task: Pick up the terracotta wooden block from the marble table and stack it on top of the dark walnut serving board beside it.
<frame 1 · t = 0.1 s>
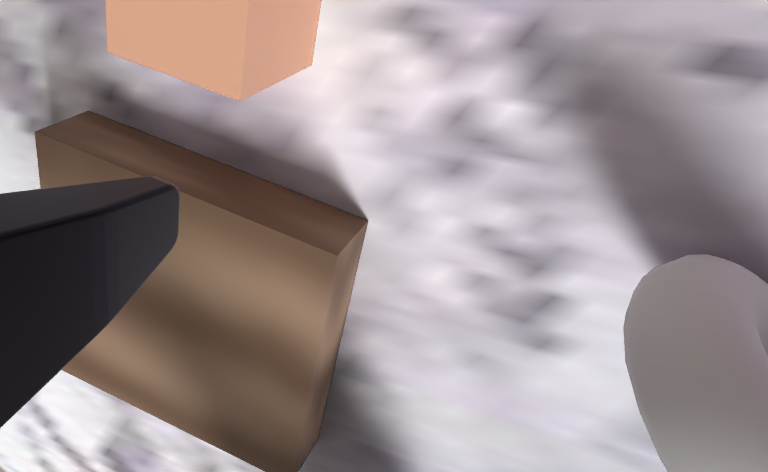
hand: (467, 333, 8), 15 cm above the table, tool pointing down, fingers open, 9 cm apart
donut: (743, 313, 22), on the table
walnut base: (211, 288, 31), on the table
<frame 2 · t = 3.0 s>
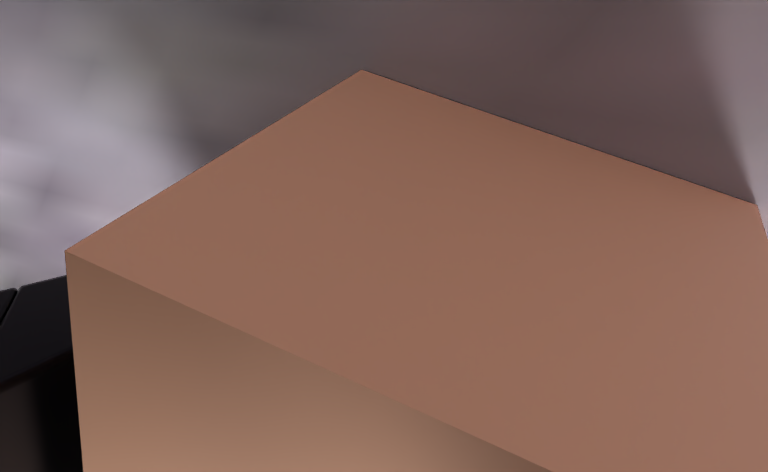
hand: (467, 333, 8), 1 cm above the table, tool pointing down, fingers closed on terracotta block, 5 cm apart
terracotta block: (486, 290, 9), on the table, touching gripper
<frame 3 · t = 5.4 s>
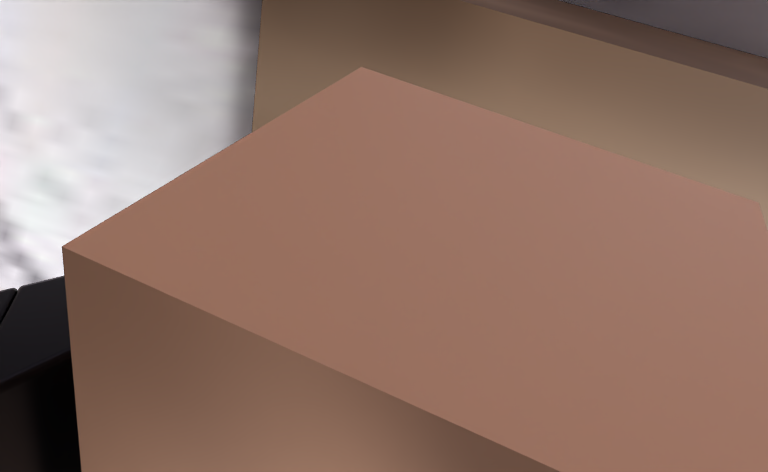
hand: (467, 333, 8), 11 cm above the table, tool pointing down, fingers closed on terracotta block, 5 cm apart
terracotta block: (486, 288, 9), point 10 cm above the table, touching gripper
walnut base: (495, 234, 20), on the table
when the fingers open (5 cm above the table, at t = 7.9 s): terracotta block drops 1 cm, resting on walnut base.
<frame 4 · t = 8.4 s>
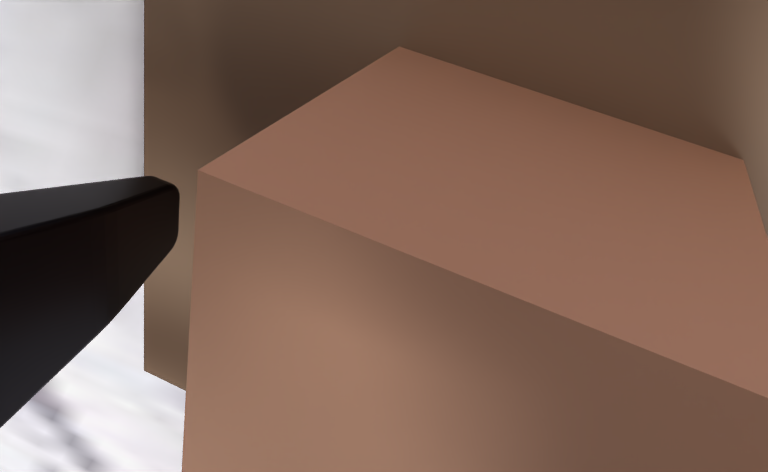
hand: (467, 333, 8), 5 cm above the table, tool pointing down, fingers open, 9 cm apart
terracotta block: (506, 243, 10), point 3 cm above the table, touching walnut base
walnut base: (534, 174, 13), on the table
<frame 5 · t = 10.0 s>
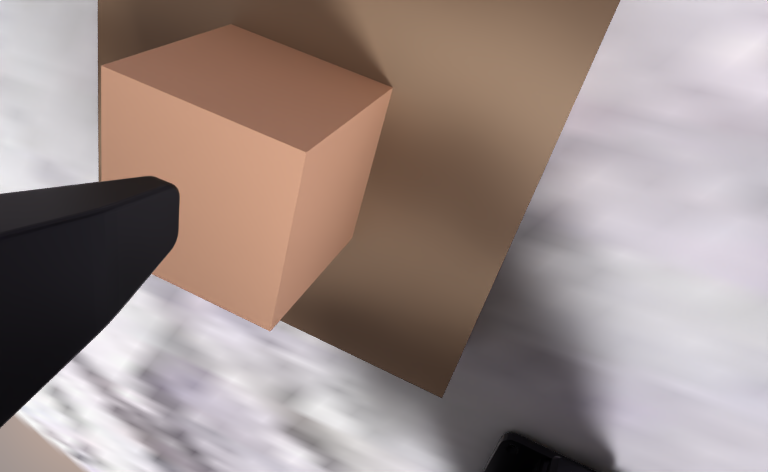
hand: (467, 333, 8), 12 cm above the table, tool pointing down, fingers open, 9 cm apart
terracotta block: (294, 136, 19), point 3 cm above the table, touching walnut base
walnut base: (336, 107, 21), on the table
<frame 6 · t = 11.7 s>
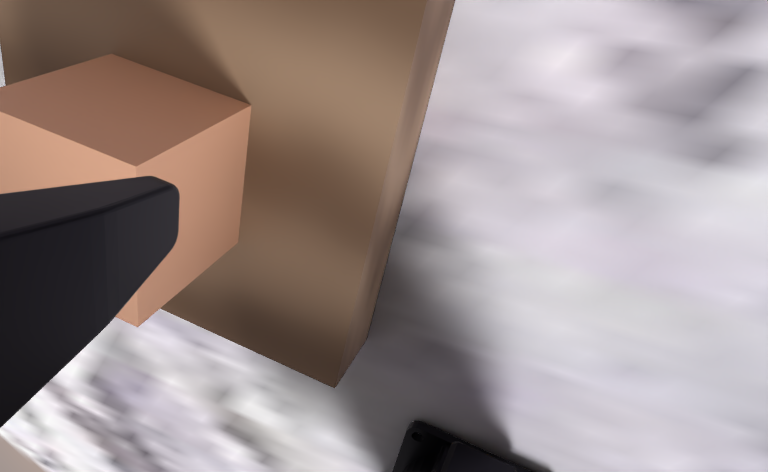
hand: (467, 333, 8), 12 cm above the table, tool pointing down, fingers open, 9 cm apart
terracotta block: (177, 152, 20), point 3 cm above the table, touching walnut base
walnut base: (228, 123, 23), on the table
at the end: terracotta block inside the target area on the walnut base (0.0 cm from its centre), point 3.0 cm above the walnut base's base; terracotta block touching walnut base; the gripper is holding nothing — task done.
